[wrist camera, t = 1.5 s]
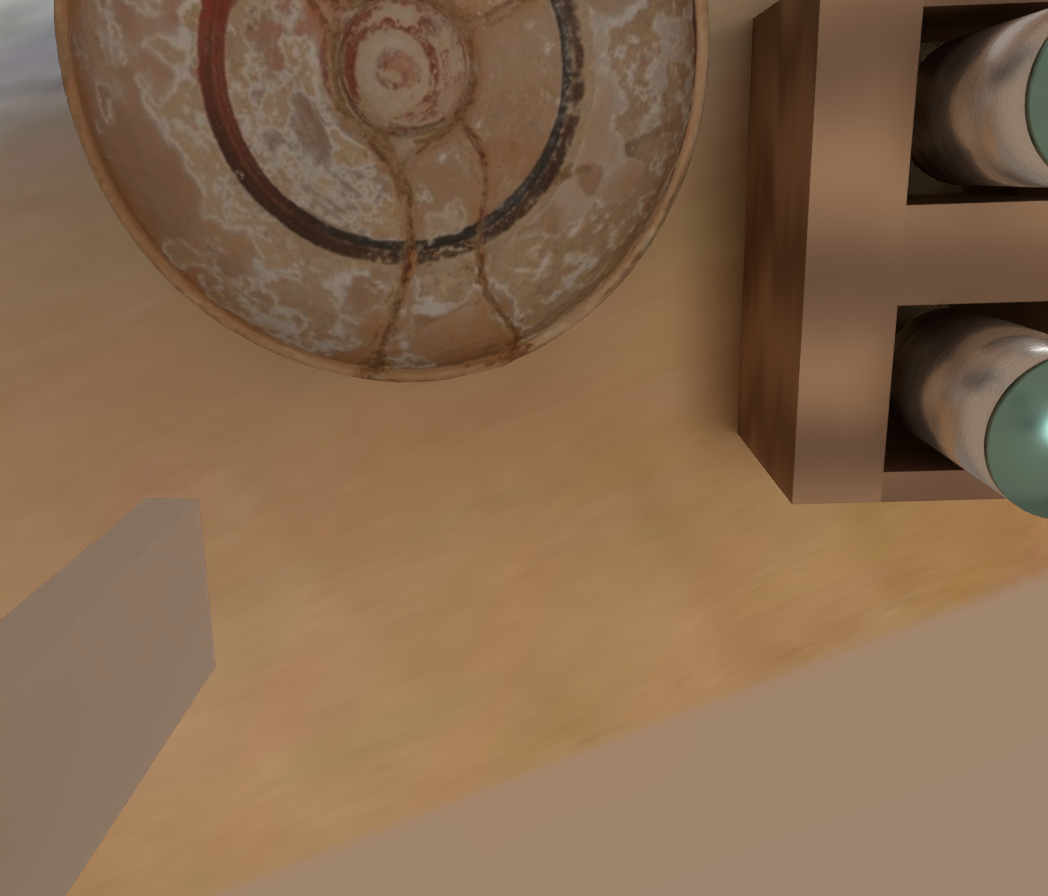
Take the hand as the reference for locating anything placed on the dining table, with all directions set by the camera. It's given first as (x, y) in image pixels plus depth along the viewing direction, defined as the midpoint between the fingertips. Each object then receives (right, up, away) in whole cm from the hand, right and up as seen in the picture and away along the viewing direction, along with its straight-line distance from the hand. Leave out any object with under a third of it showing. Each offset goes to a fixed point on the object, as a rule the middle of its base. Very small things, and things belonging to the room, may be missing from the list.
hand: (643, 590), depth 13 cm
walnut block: (+14, +11, +25) cm, 30 cm away
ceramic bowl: (-7, +17, +23) cm, 30 cm away
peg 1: (+13, +13, +17) cm, 26 cm away
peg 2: (+14, +5, +20) cm, 24 cm away
